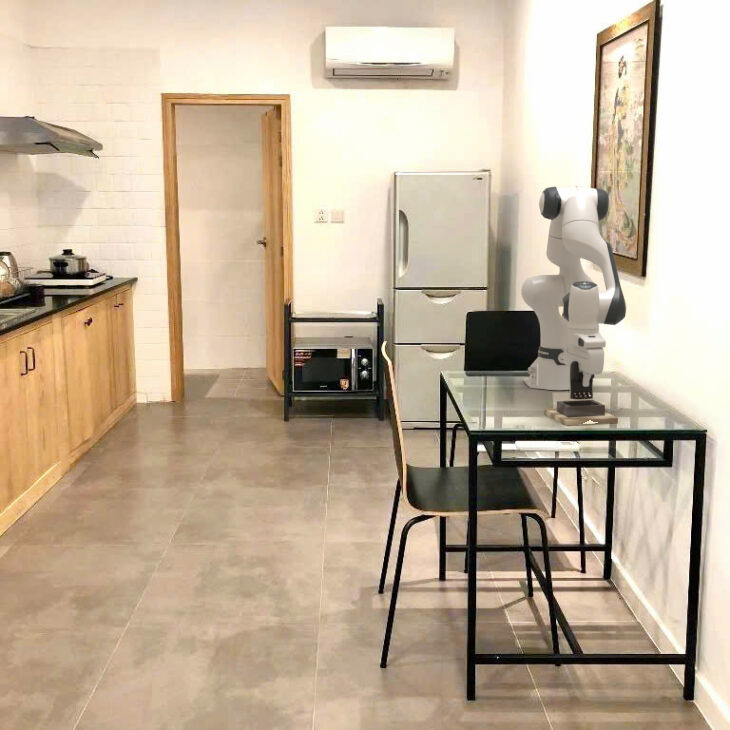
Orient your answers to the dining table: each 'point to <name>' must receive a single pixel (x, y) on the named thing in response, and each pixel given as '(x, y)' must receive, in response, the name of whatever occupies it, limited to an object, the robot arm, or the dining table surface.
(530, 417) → the dining table surface
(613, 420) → the dock
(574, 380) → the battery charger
